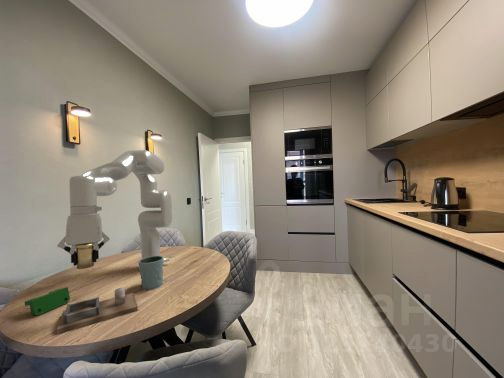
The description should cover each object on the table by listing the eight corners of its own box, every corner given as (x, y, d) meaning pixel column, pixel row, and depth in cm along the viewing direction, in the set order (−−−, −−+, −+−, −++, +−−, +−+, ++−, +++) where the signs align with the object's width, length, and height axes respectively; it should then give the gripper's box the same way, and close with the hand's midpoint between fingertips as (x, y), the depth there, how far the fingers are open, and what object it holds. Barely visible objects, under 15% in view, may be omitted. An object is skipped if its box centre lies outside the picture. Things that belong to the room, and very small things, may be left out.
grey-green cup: (168, 282, 104) (168, 256, 104) (152, 292, 95) (151, 263, 95) (151, 280, 108) (150, 255, 107) (134, 289, 98) (133, 261, 98)
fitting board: (133, 296, 91) (133, 280, 91) (137, 310, 80) (136, 292, 80) (63, 314, 79) (62, 296, 79) (56, 334, 68) (56, 313, 68)
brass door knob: (95, 262, 83) (95, 241, 83) (95, 267, 78) (94, 243, 78) (76, 266, 80) (75, 243, 80) (74, 270, 75) (73, 246, 75)
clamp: (57, 313, 88) (63, 288, 92) (66, 312, 86) (72, 287, 90) (17, 317, 78) (26, 288, 82) (27, 315, 76) (36, 286, 80)
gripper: (112, 208, 87) (113, 256, 87) (53, 212, 77) (55, 265, 77) (112, 209, 81) (114, 260, 80) (49, 213, 71) (51, 271, 71)
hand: (85, 262), depth 79 cm, fingers closed on brass door knob, 5 cm apart
